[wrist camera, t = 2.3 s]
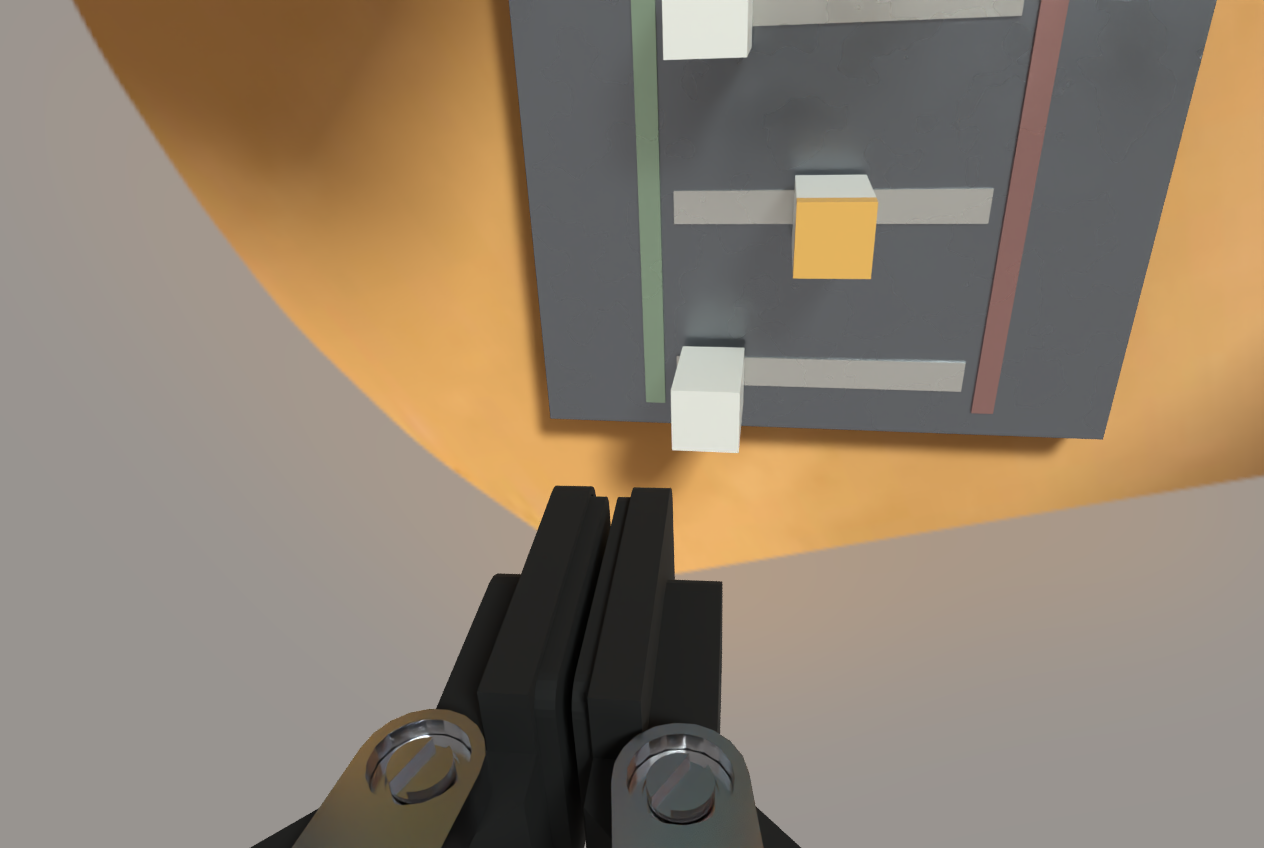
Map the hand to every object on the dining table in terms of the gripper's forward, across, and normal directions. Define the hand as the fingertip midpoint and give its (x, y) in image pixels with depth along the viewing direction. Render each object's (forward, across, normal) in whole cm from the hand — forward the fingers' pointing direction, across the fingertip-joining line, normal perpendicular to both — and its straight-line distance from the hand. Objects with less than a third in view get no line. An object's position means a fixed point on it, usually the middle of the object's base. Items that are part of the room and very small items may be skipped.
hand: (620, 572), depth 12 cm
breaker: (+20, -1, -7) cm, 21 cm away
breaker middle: (+20, -5, 0) cm, 21 cm away
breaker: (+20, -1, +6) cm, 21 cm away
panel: (+23, -5, 0) cm, 23 cm away
